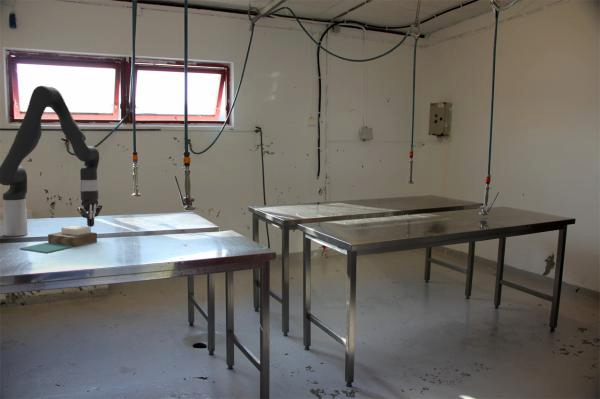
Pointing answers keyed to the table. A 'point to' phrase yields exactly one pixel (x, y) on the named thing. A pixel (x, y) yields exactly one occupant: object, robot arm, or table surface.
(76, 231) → the cream rectangular tile
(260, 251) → the table surface
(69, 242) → the deck
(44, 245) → the mat
